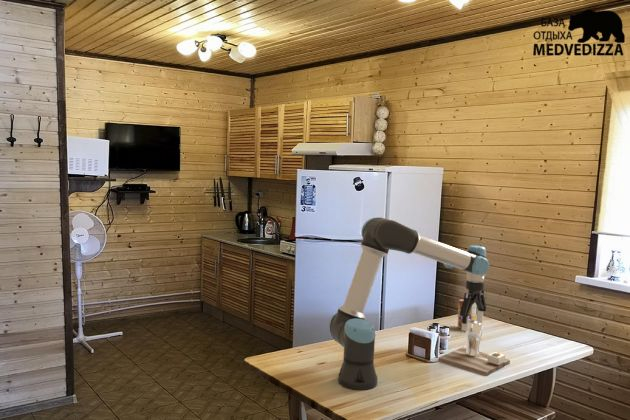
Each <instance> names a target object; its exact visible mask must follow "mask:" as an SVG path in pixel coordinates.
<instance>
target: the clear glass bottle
mask: <svg viewBox="0 0 630 420" xmlns="http://www.w3.org/2000/svg"><path fill="white" fill-rule="evenodd" d="M482 335H483V326H482V322H481V321H478V320H477V319H476V320H469V323H468V331H465V336H466V337H465V340H466V347H465V348H466V352H465V354H466V355H468V356H472V357H478V356H479V355H480V354H479V352H480V344H481V341H482Z"/></svg>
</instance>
